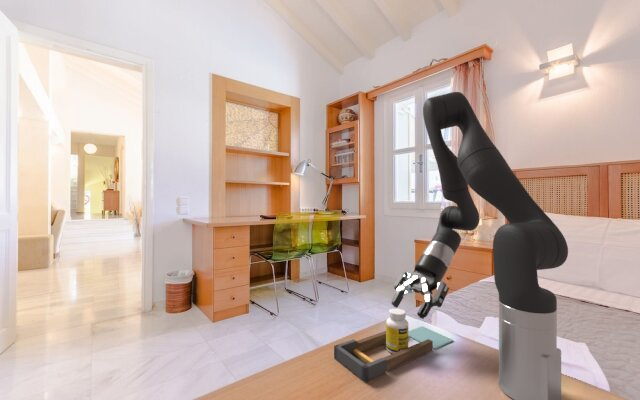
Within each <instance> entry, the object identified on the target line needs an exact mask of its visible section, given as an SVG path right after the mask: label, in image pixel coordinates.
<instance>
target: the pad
mask: <svg viewBox="0 0 640 400" xmlns="http://www.w3.org/2000/svg"><path fill="white" fill-rule="evenodd" d="M408 338H410V339H413V340H415V341H417V342H418V343H420V342H423V341H425V340H428V339H429V340H432V341H433V351H434V350H437V349H440V348H441V347H443V346H445V345H448V344H450V343H452V342H454V339H452V338H450V337H448V336H445V335H443V334H441V333H439V332H436V331H434V330H432V329H430V328H427V327H425V326H423V325H421V326H419V327H416V328H413V329H411V330H408Z"/></svg>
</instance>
